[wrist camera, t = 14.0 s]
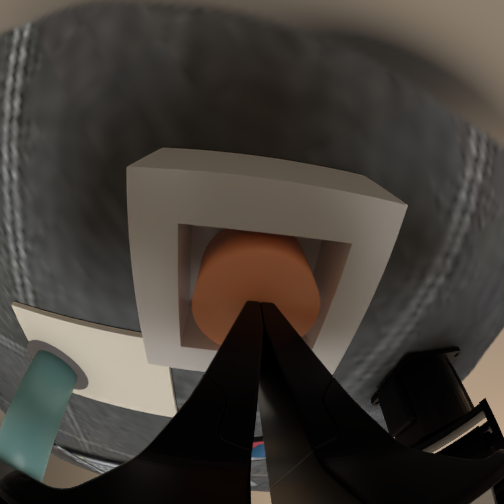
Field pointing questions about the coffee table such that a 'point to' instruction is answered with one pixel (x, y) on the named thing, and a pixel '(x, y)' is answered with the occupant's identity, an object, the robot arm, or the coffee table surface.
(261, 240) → the button
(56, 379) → the ball
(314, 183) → the button housing
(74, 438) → the coffee table surface
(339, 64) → the coffee table surface
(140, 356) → the board
